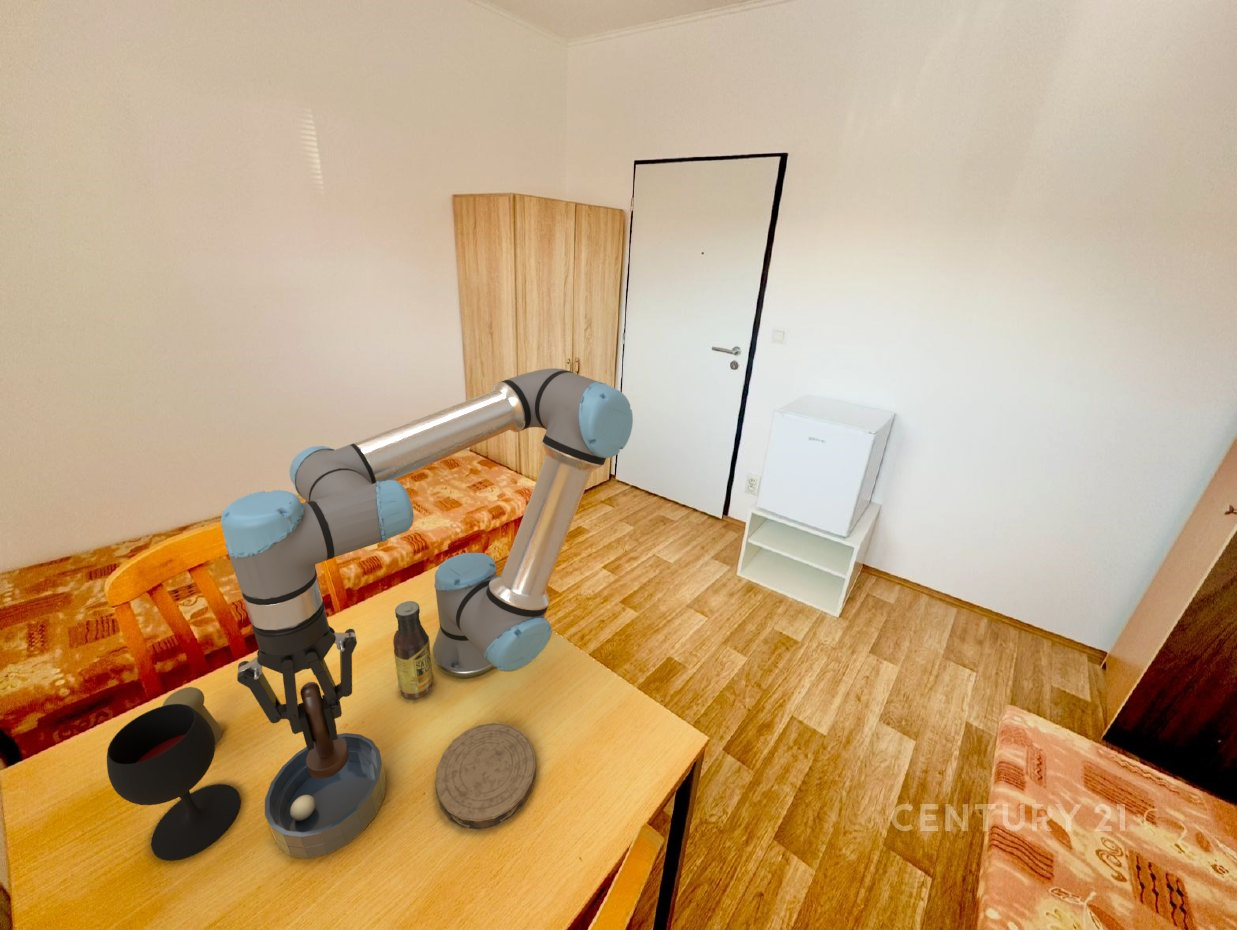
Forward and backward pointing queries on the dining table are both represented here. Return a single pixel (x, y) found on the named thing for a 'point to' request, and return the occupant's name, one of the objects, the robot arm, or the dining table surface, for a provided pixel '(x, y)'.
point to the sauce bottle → (412, 652)
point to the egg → (302, 807)
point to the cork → (195, 706)
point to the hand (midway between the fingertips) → (322, 736)
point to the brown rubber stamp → (321, 737)
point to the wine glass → (173, 778)
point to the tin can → (485, 776)
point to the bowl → (326, 800)
